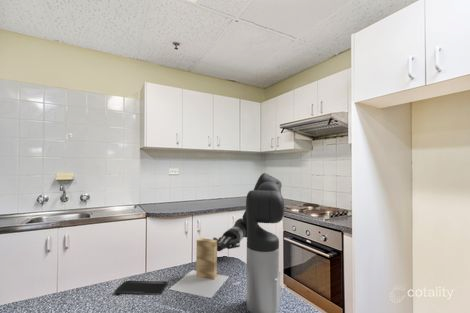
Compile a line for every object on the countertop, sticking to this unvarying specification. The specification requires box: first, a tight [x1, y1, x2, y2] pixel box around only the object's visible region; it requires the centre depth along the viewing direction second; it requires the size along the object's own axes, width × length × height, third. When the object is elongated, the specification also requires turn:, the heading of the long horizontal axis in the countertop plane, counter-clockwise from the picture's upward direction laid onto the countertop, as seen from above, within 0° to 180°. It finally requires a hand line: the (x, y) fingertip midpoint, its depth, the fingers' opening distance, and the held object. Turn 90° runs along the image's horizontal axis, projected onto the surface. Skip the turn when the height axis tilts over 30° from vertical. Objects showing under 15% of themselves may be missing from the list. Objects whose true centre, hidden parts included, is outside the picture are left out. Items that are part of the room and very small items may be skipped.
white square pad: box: [169, 269, 230, 299], centre depth 83 cm, size 15×15×1 cm
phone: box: [114, 280, 169, 296], centre depth 79 cm, size 8×1×15 cm
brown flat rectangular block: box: [195, 237, 218, 280], centre depth 88 cm, size 7×2×13 cm, turn 70°
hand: (218, 248), depth 97 cm, fingers closed
